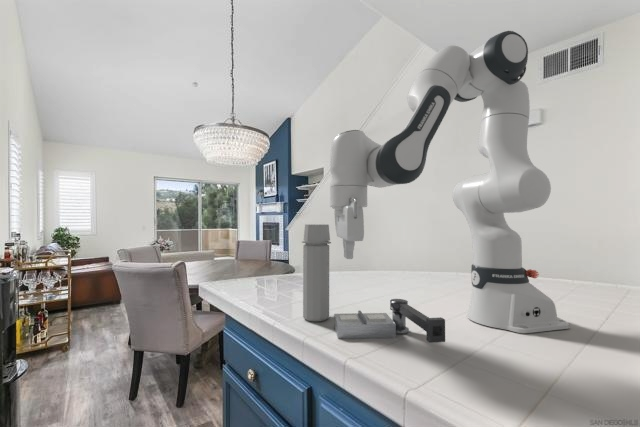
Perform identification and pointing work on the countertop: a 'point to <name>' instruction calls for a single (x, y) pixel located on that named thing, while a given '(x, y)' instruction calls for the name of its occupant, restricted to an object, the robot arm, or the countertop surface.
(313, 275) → the water bottle
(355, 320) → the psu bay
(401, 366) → the countertop surface
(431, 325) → the bar
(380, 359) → the countertop surface
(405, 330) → the grey round knob
